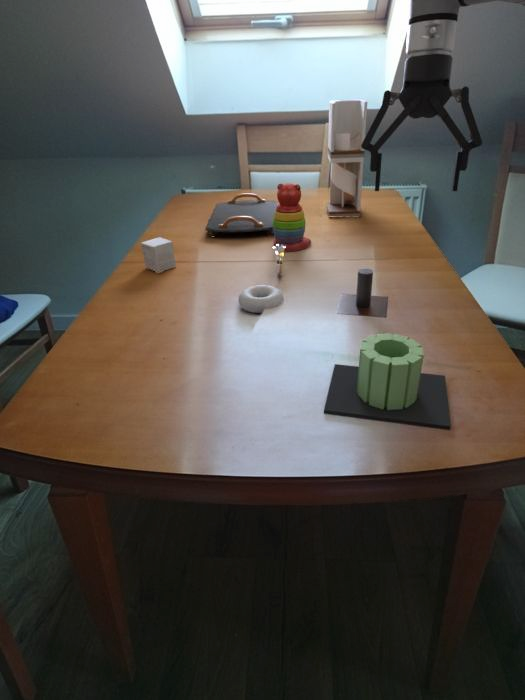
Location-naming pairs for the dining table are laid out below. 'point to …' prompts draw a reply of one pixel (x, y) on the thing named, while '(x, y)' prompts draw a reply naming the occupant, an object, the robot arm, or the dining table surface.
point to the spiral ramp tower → (346, 156)
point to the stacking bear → (289, 219)
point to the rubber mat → (422, 412)
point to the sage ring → (389, 371)
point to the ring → (279, 256)
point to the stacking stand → (363, 299)
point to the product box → (158, 254)
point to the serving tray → (242, 215)
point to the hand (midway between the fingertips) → (414, 190)
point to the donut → (260, 298)
